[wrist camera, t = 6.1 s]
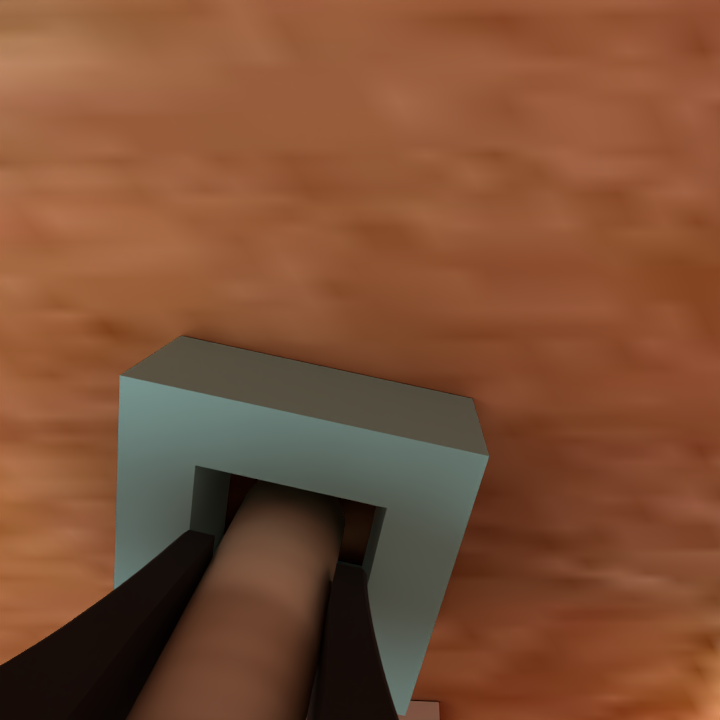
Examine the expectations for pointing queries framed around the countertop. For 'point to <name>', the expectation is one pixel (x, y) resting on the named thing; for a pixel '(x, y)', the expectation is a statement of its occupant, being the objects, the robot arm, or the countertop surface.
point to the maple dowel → (253, 615)
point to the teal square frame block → (303, 470)
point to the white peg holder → (421, 711)
